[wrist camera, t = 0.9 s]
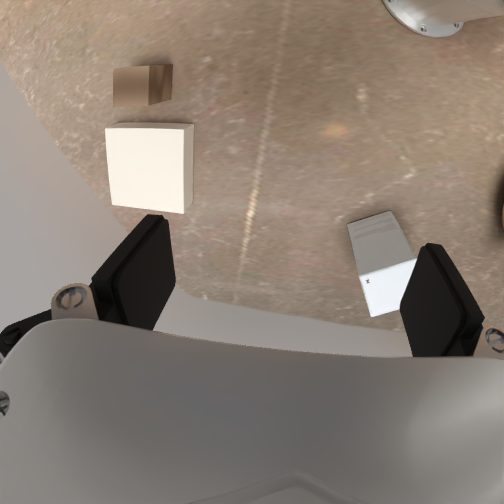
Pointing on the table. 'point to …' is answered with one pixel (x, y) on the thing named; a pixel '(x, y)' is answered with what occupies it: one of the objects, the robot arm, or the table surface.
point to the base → (151, 165)
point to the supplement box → (382, 261)
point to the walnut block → (142, 85)
